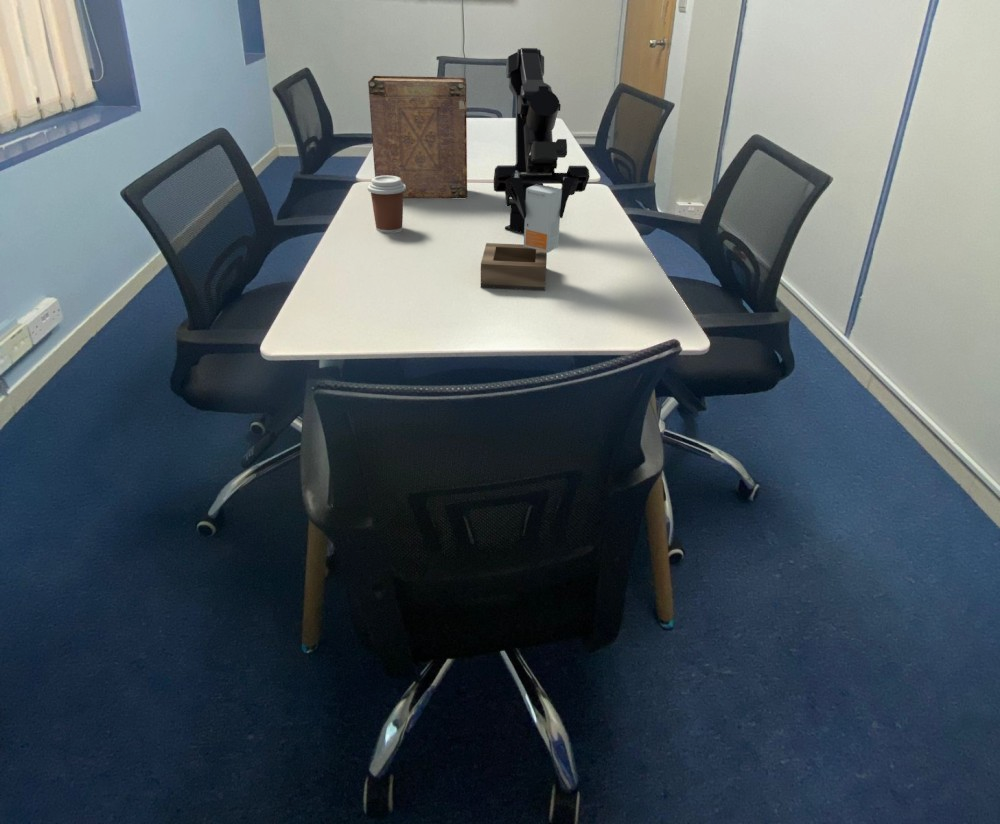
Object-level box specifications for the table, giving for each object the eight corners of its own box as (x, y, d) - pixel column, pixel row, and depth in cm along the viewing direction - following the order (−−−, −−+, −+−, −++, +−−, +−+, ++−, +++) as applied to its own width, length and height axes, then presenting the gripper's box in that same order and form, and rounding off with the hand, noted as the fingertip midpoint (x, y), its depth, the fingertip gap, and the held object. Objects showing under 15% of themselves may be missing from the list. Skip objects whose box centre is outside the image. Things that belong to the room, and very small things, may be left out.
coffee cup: (365, 225, 178) (361, 176, 172) (400, 221, 182) (397, 172, 176) (377, 236, 172) (374, 185, 165) (413, 231, 175) (411, 181, 169)
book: (466, 190, 209) (466, 77, 194) (467, 198, 202) (467, 81, 186) (378, 189, 208) (371, 75, 192) (375, 197, 200) (368, 80, 184)
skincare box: (522, 247, 147) (524, 187, 141) (533, 241, 150) (536, 183, 144) (548, 253, 144) (551, 193, 138) (559, 247, 147) (562, 188, 141)
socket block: (486, 265, 156) (486, 242, 154) (545, 268, 156) (547, 245, 153) (480, 287, 145) (480, 263, 143) (544, 290, 145) (546, 266, 142)
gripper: (495, 122, 137) (499, 196, 134) (592, 123, 139) (598, 196, 135) (492, 155, 148) (495, 224, 145) (581, 155, 150) (586, 224, 146)
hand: (543, 217), depth 143 cm, fingers closed on skincare box, 7 cm apart
